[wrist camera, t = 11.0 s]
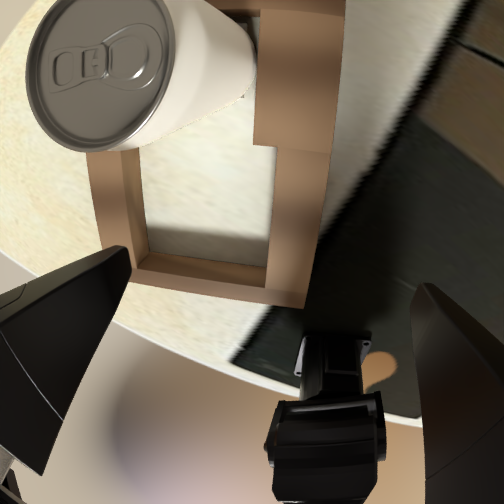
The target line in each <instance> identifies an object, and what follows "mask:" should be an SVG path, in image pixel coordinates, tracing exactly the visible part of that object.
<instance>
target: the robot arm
mask: <svg viewBox="0 0 504 504" xmlns="http://www.w3.org/2000/svg"><path fill="white" fill-rule="evenodd" d="M131 274H132V265H131V260H130V255H129V250H128V248H127V247H126V246H121V245H114V246H111V247H109V248H106V249H104V250H101V251H99V252H97V253H94V254H92V255H89V256H87V257H84V258H82V259H80V260H77V261H75V262H73V263H70V264H68V265H66V266H63V267H61V268H59V269H56V270H54V271H52V272H50V273H47V274H45V275H43V276H41V277H38V278H36V279H34V280H32V281H30V282H28V283H27V284H26V283H25V284H23V285H21V286H19V287H17V288H14V289H12V290H10V291H8V292H5V293H3V294H1V295H0V504H26V503H25V502H24V501H22V498H21V496H20V492H19V488H18V485H17V481H16V478H15V474H14V471H13V470H12V469H11V468H10V467H11V465H12V463H13V461H14V459H16V460H17V461H19V462H20V463H21V464H23V465H24V466H26V467H27V468H29V469H30V470H32V471H33V472H35V473H36V474H38V475H39V476H42V475H43V473H44V470H45V467H46V464H47V462H48V459H49V456H50V454H51V451H52V448H53V446H54V443H55V441H56V438H57V436H58V433H59V430H60V428H61V426H62V423H63V420H64V418H65V416H66V414H67V411H68V409H69V407H70V404H71V402H72V400H73V398H74V396H75V393H76V391H77V389H78V387H79V385H80V382H81V380H82V378H83V376H84V374H85V372H86V370H87V368H88V365H89V363H90V361H91V359H92V357H93V355H94V353H95V351H96V349H97V347H98V345H99V343H100V341H101V339H102V337H103V335H104V334H105V332H106V330H107V328H108V326H109V324H110V322H111V320H112V318H113V316H114V314H115V312H116V310H117V308H118V305H119V303H120V301H121V298H122V296H123V293H124V291H125V289H126V286H127V284H128V282H129V279H130V277H131ZM410 319H411V330H412V343H413V354H414V361H415V367H416V374H417V381H418V388H419V396H420V404H421V414H422V424H423V436H424V452H425V479H426V481H425V504H504V345H503V344H502V343H501V342H500V341H499V340H498V339H497V338H496V337H495V336H494V335H492V334H491V333H490V332H489V331H488V330H487V329H486V328H485V327H484V326H482V325H481V324H480V323H479V322H478V321H477V320H476V319H474V318H473V317H472V316H471V315H470V314H469V313H467V312H466V311H465V310H464V309H463V308H462V307H460V306H459V305H458V304H457V303H456V302H454V301H453V300H452V299H451V298H450V297H448V296H447V295H446V294H445V293H444V292H442V291H441V290H440V289H439V288H437V287H436V286H435V285H434V284H432V283H424V282H422V283H420V284H419V285H418V287H417V290H416V292H415V295H414V297H413V299H412V302H411V305H410ZM366 342H367V343H366ZM371 344H372V342H371V339H370V338H368V337H358V336H346V335H336V334H326V333H317V332H305V333H304V334H303V338H302V342H301V346H300V350H299V354H298V358H297V361H296V365H295V369H294V374H295V375H297V376H301V384H300V397H299V401H285V400H283V401H279V402H278V406H277V408H276V409H275V413H274V416H273V419H272V422H271V426H270V429H269V432H268V436H267V439H266V441H265V443H264V450H265V451H266V452H267V453H268V461H269V464H270V466H271V467H272V468H274V475H273V484H272V491H273V493H274V495H275V497H276V499H277V501H278V502H283V503H284V504H363V503H364V502H365V500H366V499H367V497H368V496H369V494H370V492H371V491H372V490H373V488H374V486H375V485H376V483H377V462H378V461H385V459H386V447H387V446H386V445H387V443H386V426H385V418H384V411H383V405H382V399H381V393H380V391H375V392H374V393H369V394H364V393H363V380H362V369H361V365H362V363H363V360H364V359H365V357H366V355H367V353H368V350H369V348H370V346H371Z"/></svg>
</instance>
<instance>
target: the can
mask: <svg viewBox="0 0 504 504" xmlns="http://www.w3.org/2000/svg"><path fill="white" fill-rule="evenodd" d="M256 68H257V58H256V51H255V47H254V44H253V42H252V40H251V38H250V37H249V35H248V34H247V33H246V32H245V30H244V29H243V28H241V27H240V26H239V25H238V24H237V23H235V22H234V21H233V20H232V19H230V18H229V17H227V16H226V15H225V14H223V13H222V12H221V11H219V10H218V9H216V8H215V7H213V6H212V5H210V4H209V3H207V2H206V1H204V0H57V1H56V2H55V3H54V4H53V5H52V6H51V8H50V9H49V10H48V11H47V13H46V14H45V16H44V17H43V19H42V20H41V22H40V24H39V25H38V27H37V29H36V31H35V34H34V36H33V38H32V41H31V44H30V47H29V51H28V56H27V62H26V73H25V80H26V91H27V96H28V100H29V104H30V107H31V110H32V112H33V114H34V116H35V118H36V120H37V122H38V123H39V125H40V126H41V128H42V129H43V130H44V132H45V133H46V134H47V135H48V136H49V137H50V138H51V139H53V140H54V141H55V142H57V143H58V144H60V145H61V146H63V147H65V148H68V149H70V150H74V151H78V152H85V153H93V152H101V151H105V150H109V151H124V150H130V149H134V148H138V147H141V146H144V145H147V144H149V143H152V142H154V141H156V140H158V139H161V138H163V137H165V136H167V135H169V134H171V133H173V132H175V131H177V130H179V129H181V128H183V127H185V126H187V125H189V124H191V123H193V122H195V121H198V120H200V119H202V118H204V117H206V116H208V115H210V114H213V113H215V112H217V111H219V110H221V109H223V108H225V107H227V106H229V105H231V104H233V103H234V102H236V101H237V100H238V99H239V98H240V97H241V96H242V95H243V94H244V93H245V92H246V91H247V90H248V88H249V87H250V85H251V83H252V82H253V80H254V77H255V74H256Z"/></svg>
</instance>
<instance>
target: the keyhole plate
mask: <svg viewBox="0 0 504 504" xmlns="http://www.w3.org/2000/svg"><path fill="white" fill-rule="evenodd" d="M204 1H206V2H207V3H209V4H210V5H212V6H213V7H215V8H216V9H218V10H219V11H221V12H222V13H223V14H225V15H226V16H227V17H260V29H259V46H258V63H257V80H256V97H255V115H254V133H253V145H261V146H272V147H278V150H277V162H276V174H275V186H274V197H273V208H272V220H271V231H270V241H269V252H268V262H267V268H265V267H258V266H250V265H243V264H235V263H228V262H220V261H213V260H206V259H198V258H191V257H184V256H177V255H170V254H163V253H155V252H150V251H149V244H148V237H147V229H146V221H145V213H144V204H143V194H142V184H141V173H140V160H139V147H138V148H134V149H130V150H124V151H109V150H105V151H101V152H93V153H86V158H87V166H88V174H89V181H90V187H91V193H92V199H93V205H94V211H95V216H96V221H97V226H98V231H99V236H100V241H101V245H102V249H103V250H104V249H106V248H109V247H111V246H114V245H121V246H126V247H127V248H128V250H129V255H130V260H131V265H132V274H131V277H130V279H129V282H133V283H138V284H144V285H149V286H155V287H160V288H166V289H172V290H177V291H183V292H189V293H195V294H201V295H208V296H214V297H220V298H227V299H234V300H240V301H247V302H254V303H262V304H269V305H276V306H284V307H292V308H300V309H304V305H305V300H306V295H307V291H308V286H309V281H310V276H311V271H312V266H313V261H314V255H315V250H316V245H317V239H318V234H319V228H320V222H321V216H322V210H323V204H324V198H325V192H326V185H327V179H328V172H329V165H330V158H331V151H332V144H333V136H334V128H335V120H336V111H337V103H338V93H339V84H340V73H341V62H342V50H343V36H344V21H345V2H346V0H204ZM237 24H238V25H239V26H240V27H241V28H243V29H244V30H245V32H246V33H247V23H237ZM240 98H244V94H243V95H242V96H241V97H240Z"/></svg>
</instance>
